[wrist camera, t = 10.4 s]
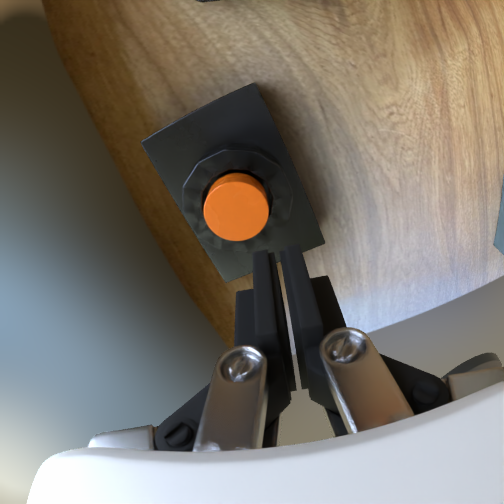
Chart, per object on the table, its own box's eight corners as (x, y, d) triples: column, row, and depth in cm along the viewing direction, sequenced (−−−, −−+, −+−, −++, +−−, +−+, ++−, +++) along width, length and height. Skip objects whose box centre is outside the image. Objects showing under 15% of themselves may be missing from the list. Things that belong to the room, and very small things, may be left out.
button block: (319, 229, 23) (331, 256, 20) (227, 267, 25) (224, 298, 21) (254, 82, 18) (255, 81, 14) (149, 136, 19) (129, 148, 16)
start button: (276, 214, 19) (279, 226, 17) (224, 236, 19) (222, 250, 18) (251, 162, 17) (252, 170, 15) (196, 188, 18) (191, 198, 16)
